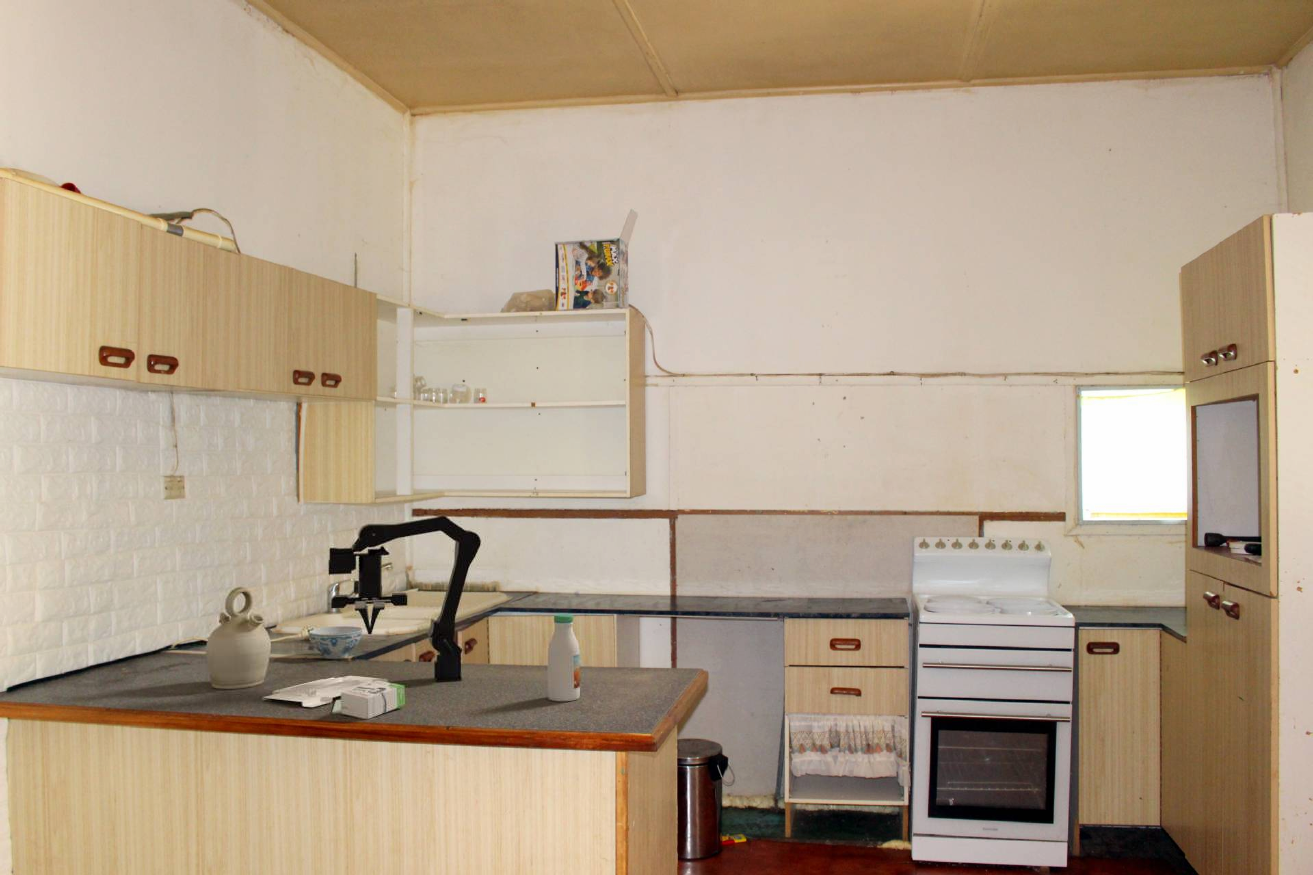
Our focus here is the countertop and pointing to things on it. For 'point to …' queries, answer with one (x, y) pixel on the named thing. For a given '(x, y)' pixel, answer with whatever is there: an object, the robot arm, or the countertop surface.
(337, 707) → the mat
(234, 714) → the countertop surface
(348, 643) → the chinaware
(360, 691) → the ink box
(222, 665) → the jug
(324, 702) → the tray
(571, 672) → the milk bottle
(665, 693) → the countertop surface
